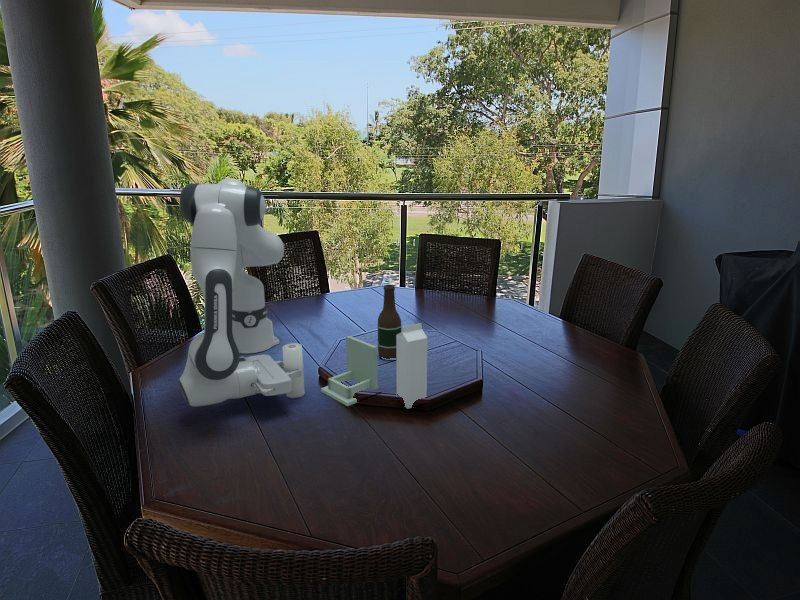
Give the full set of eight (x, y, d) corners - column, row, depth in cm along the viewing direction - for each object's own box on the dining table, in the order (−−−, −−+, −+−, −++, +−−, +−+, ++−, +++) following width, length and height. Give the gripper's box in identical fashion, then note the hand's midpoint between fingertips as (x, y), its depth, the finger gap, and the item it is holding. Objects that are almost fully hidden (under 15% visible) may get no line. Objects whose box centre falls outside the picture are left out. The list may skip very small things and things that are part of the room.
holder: (320, 391, 151) (318, 345, 147) (354, 379, 159) (353, 334, 155) (347, 406, 142) (345, 357, 138) (381, 392, 150) (380, 345, 146)
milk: (426, 404, 144) (428, 326, 137) (407, 409, 141) (408, 330, 135) (414, 394, 149) (416, 319, 143) (395, 399, 146) (396, 323, 140)
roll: (284, 391, 151) (281, 343, 147) (303, 388, 153) (300, 341, 149) (286, 399, 146) (283, 350, 142) (306, 396, 148) (303, 348, 144)
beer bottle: (398, 362, 171) (398, 289, 164) (375, 360, 172) (374, 288, 166) (403, 353, 178) (403, 283, 171) (380, 351, 180) (380, 281, 173)
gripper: (256, 382, 132) (310, 370, 138) (235, 355, 149) (283, 345, 155) (258, 406, 134) (311, 393, 140) (237, 376, 150) (285, 366, 157)
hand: (296, 368), depth 148 cm, fingers closed on roll, 5 cm apart
